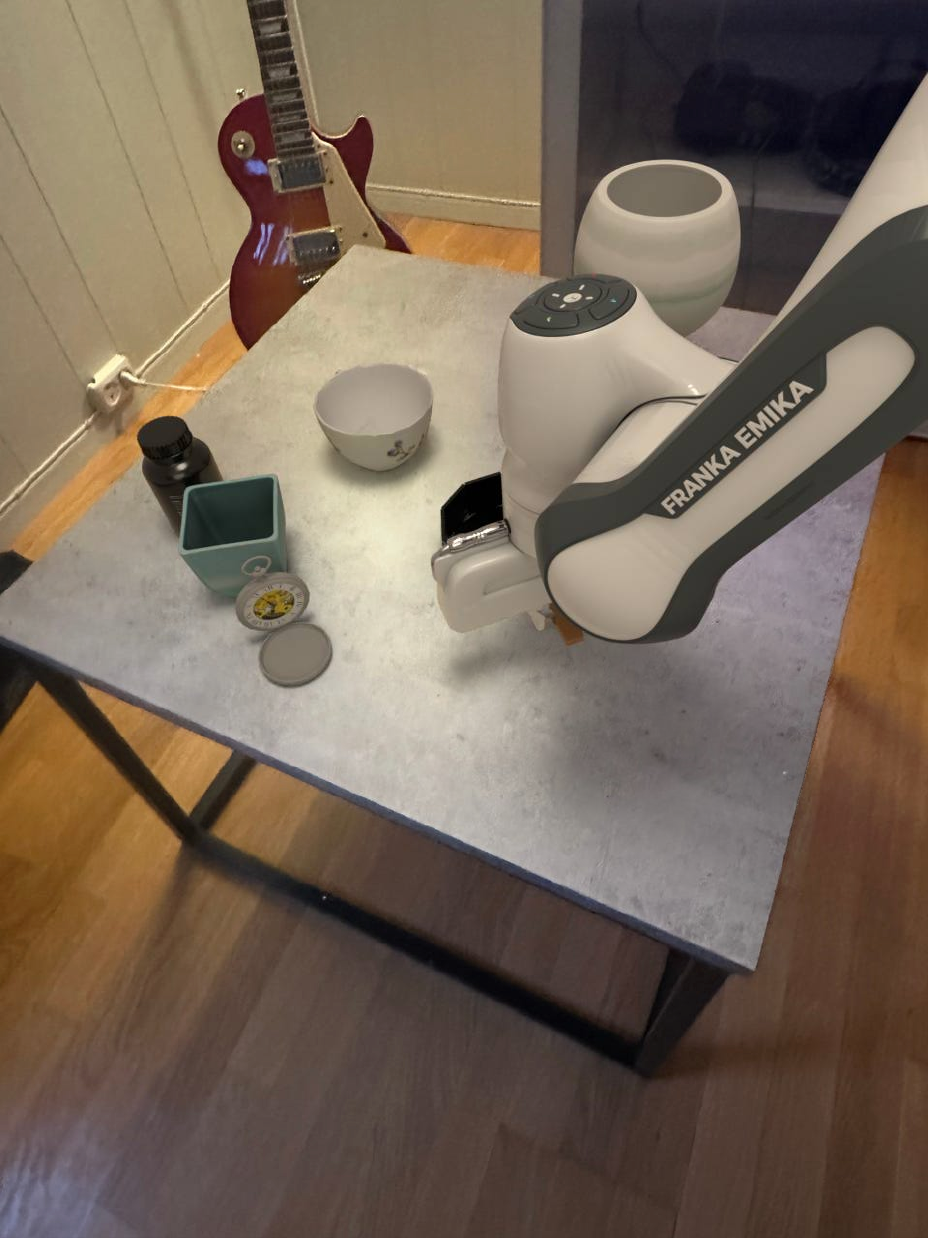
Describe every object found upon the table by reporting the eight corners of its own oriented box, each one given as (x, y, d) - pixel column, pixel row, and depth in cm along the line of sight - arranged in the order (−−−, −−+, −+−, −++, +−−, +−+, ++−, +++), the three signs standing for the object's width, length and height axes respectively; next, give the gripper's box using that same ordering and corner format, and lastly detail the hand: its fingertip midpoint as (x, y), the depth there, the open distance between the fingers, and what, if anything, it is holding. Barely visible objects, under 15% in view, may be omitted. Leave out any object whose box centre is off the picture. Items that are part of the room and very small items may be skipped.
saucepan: (639, 644, 67) (645, 613, 64) (505, 693, 65) (503, 664, 62) (541, 491, 80) (541, 457, 76) (426, 528, 78) (420, 496, 74)
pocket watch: (304, 699, 66) (272, 633, 58) (231, 662, 69) (192, 595, 61) (356, 631, 70) (334, 561, 62) (286, 599, 73) (256, 528, 65)
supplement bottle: (248, 502, 82) (210, 412, 72) (220, 548, 78) (176, 460, 68) (192, 493, 83) (148, 404, 74) (162, 538, 80) (111, 450, 70)
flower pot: (300, 535, 78) (277, 470, 71) (302, 601, 73) (277, 538, 66) (216, 549, 78) (183, 485, 71) (212, 616, 73) (177, 554, 66)
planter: (539, 390, 90) (541, 193, 72) (631, 332, 95) (654, 136, 77) (644, 454, 82) (675, 251, 64) (737, 386, 87) (790, 182, 69)
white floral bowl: (461, 460, 83) (455, 400, 77) (363, 510, 80) (349, 452, 73) (393, 394, 91) (382, 335, 85) (301, 437, 88) (282, 378, 81)
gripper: (442, 579, 51) (459, 686, 62) (710, 489, 54) (680, 606, 65) (413, 517, 55) (434, 629, 66) (666, 436, 58) (645, 556, 69)
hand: (558, 617), depth 65 cm, fingers closed on saucepan
